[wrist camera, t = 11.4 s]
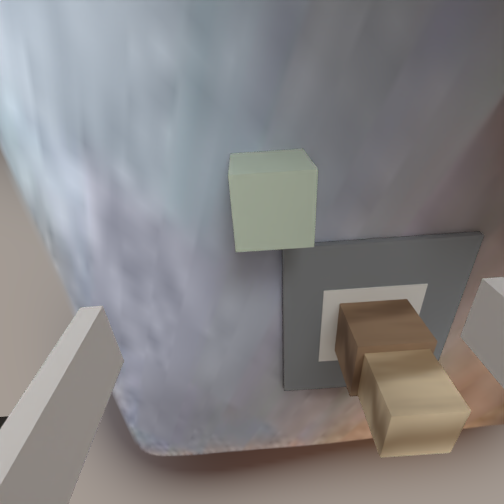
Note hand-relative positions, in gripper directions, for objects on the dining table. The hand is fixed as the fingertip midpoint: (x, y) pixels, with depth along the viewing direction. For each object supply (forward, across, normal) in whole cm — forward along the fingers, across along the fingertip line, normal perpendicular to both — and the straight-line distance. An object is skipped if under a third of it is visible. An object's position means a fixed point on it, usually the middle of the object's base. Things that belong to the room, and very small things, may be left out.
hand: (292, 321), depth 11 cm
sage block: (+14, 0, 0) cm, 14 cm away
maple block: (+8, +9, -14) cm, 19 cm away
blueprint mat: (+14, +9, -14) cm, 21 cm away
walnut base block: (+13, +9, -14) cm, 21 cm away
